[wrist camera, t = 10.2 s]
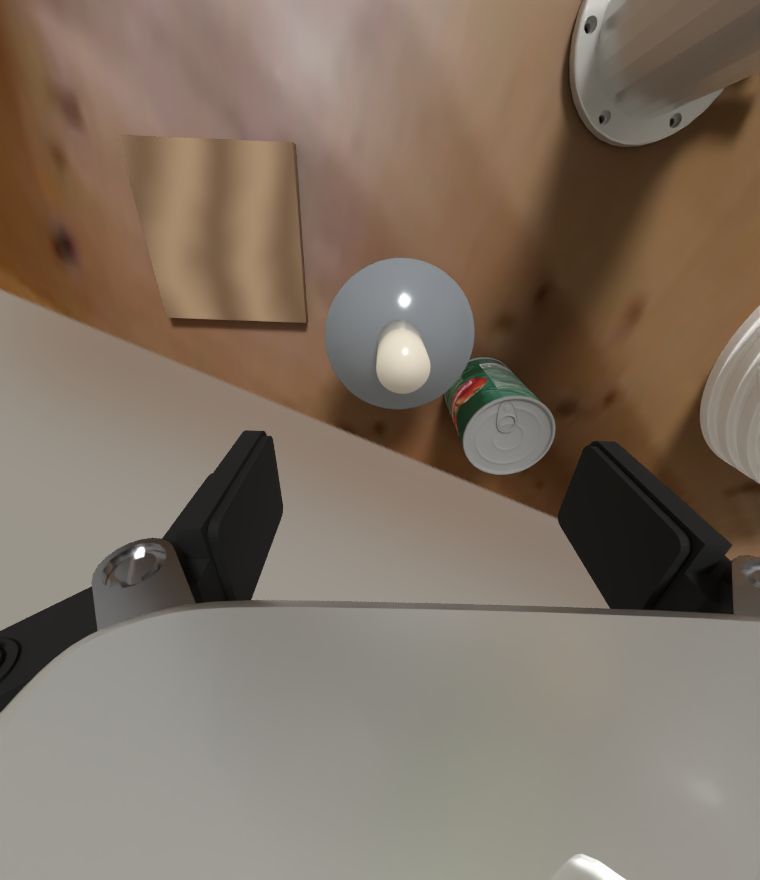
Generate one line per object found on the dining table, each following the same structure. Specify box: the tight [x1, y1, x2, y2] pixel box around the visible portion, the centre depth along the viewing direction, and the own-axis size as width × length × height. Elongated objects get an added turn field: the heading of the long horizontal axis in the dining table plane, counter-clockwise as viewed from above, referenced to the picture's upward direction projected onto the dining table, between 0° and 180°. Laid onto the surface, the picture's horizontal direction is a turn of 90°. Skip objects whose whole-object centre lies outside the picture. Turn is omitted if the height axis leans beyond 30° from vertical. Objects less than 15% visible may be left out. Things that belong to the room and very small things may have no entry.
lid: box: [325, 257, 474, 409], centre depth 23 cm, size 11×11×7 cm
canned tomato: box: [444, 357, 556, 475], centre depth 35 cm, size 8×8×11 cm
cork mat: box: [118, 135, 308, 323], centre depth 31 cm, size 14×14×1 cm
